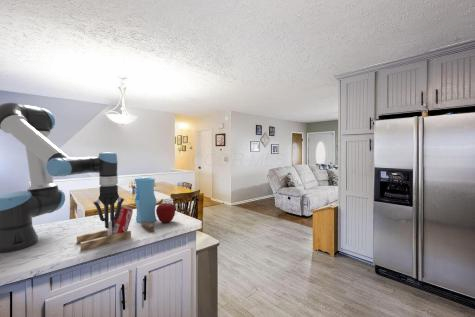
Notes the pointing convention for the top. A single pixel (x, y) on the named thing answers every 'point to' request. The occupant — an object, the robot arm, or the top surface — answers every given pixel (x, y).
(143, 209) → the light blue storage bin
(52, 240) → the top surface
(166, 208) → the apple
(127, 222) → the soda can
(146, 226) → the block
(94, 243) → the chute
